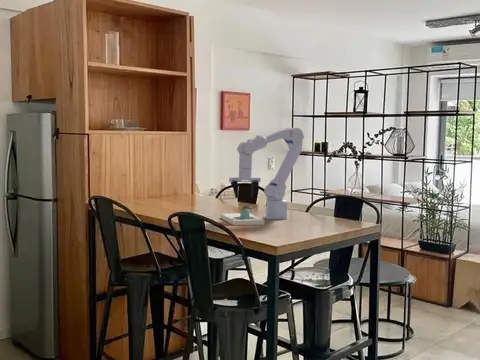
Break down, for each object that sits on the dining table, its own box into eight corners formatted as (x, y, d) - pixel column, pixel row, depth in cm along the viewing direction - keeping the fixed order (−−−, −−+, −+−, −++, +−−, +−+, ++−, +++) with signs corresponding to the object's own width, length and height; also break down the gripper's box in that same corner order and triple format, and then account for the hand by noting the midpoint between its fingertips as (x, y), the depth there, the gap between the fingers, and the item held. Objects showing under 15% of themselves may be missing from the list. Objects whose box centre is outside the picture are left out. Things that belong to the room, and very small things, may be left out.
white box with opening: (249, 217, 256) (249, 203, 255) (264, 224, 237) (264, 209, 236) (220, 217, 252) (221, 204, 251) (233, 225, 233) (234, 210, 232)
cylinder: (247, 221, 243) (247, 208, 243) (250, 223, 239) (250, 209, 239) (239, 221, 242) (239, 208, 241) (241, 223, 238) (242, 209, 238)
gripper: (257, 167, 254) (256, 196, 255) (227, 167, 249) (226, 196, 250) (262, 168, 247) (261, 198, 248) (232, 168, 243) (231, 198, 244)
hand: (244, 197), depth 249 cm, fingers open, 7 cm apart
